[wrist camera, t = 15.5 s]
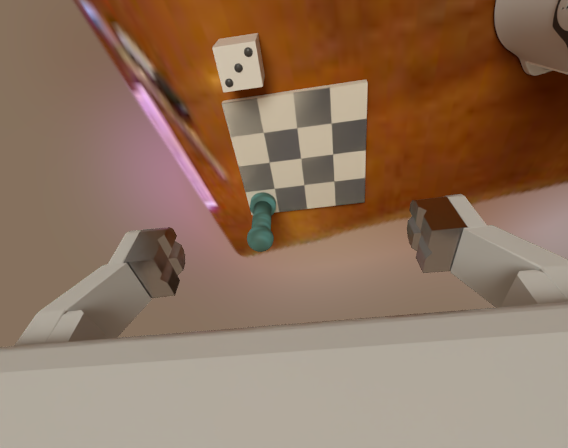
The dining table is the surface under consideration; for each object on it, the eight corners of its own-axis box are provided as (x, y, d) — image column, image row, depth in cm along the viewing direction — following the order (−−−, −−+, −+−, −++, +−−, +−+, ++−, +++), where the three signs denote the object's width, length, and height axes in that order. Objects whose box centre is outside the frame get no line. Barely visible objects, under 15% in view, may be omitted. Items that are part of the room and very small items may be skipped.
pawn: (273, 191, 53) (272, 235, 45) (277, 211, 56) (276, 256, 48) (248, 193, 53) (241, 238, 45) (253, 213, 56) (247, 259, 48)
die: (257, 32, 39) (255, 41, 35) (264, 75, 42) (262, 86, 39) (219, 38, 40) (212, 47, 36) (228, 80, 43) (223, 92, 39)
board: (365, 79, 43) (367, 82, 42) (363, 198, 56) (364, 202, 55) (223, 100, 45) (221, 103, 44) (252, 210, 57) (251, 215, 56)
